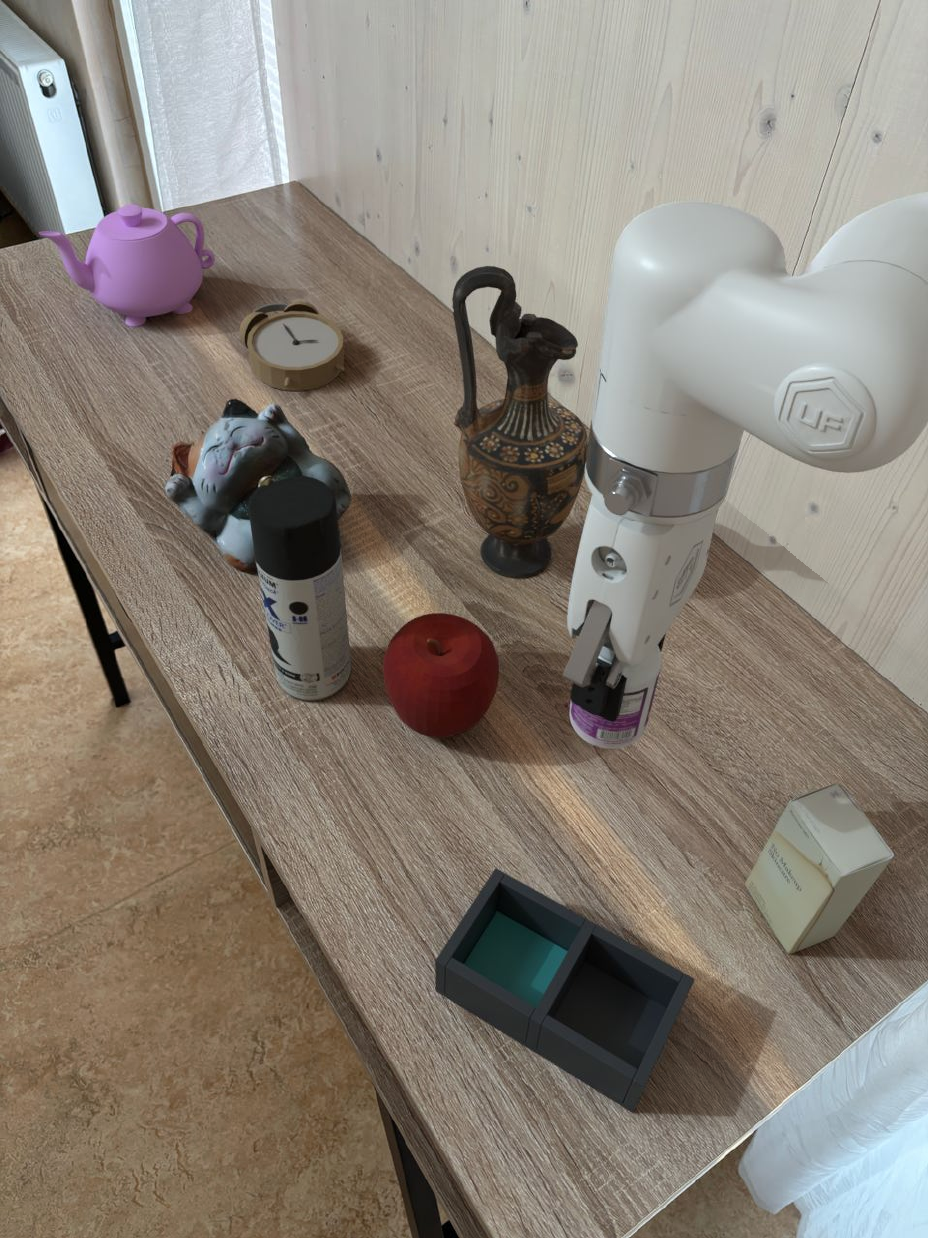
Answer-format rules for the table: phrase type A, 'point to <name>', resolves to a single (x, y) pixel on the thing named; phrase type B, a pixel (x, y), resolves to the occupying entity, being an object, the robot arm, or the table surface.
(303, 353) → the alarm clock
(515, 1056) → the table surface
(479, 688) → the apple
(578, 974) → the holder
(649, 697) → the pill bottle
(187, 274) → the teapot
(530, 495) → the vase
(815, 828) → the cosmetic box
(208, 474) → the lucky cat figurine
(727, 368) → the robot arm
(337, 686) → the spray can
